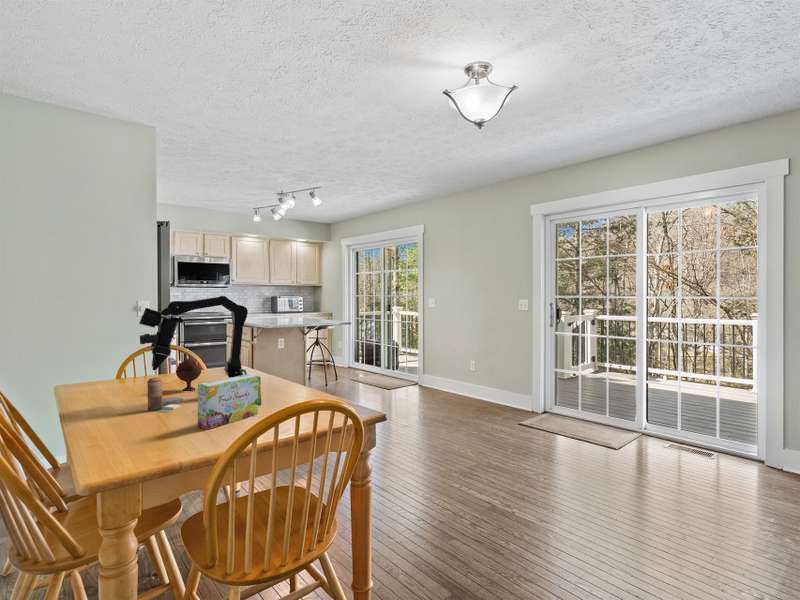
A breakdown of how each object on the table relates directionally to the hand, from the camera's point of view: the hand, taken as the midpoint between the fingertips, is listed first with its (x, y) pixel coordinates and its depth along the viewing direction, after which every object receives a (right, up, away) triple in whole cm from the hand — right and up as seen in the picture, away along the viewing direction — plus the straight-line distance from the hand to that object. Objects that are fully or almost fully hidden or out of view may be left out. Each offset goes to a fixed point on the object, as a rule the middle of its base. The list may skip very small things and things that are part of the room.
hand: (153, 368), depth 175 cm
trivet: (+3, -15, +6) cm, 16 cm away
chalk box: (+37, -15, +1) cm, 40 cm away
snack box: (+38, -16, -20) cm, 46 cm away
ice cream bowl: (+1, -15, +27) cm, 31 cm away
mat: (+7, -15, -5) cm, 17 cm away
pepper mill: (+4, -15, -7) cm, 17 cm away
